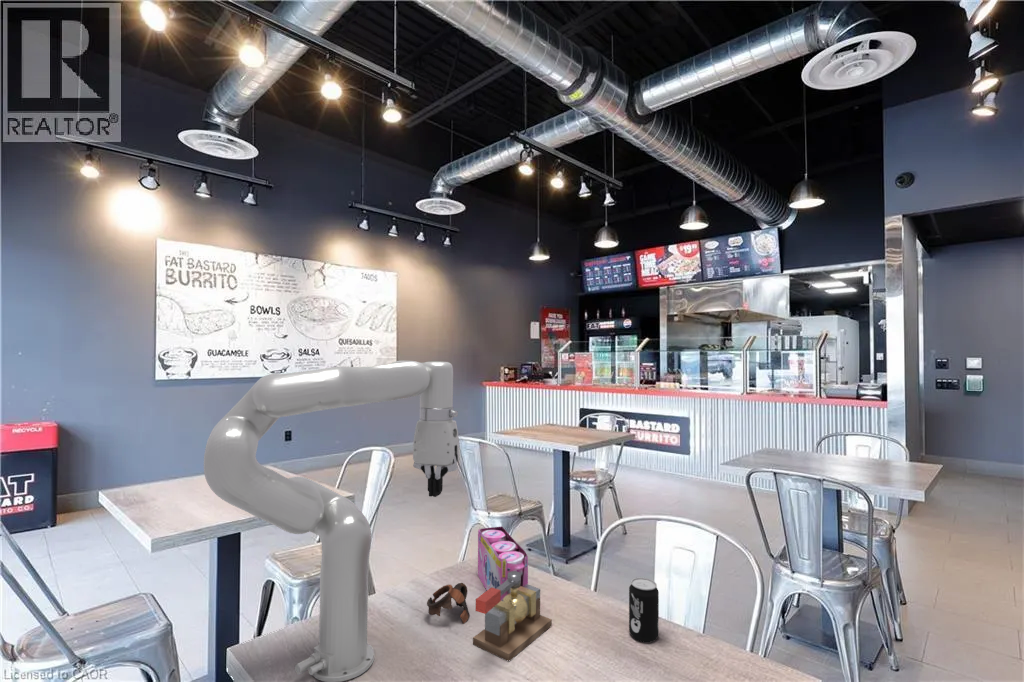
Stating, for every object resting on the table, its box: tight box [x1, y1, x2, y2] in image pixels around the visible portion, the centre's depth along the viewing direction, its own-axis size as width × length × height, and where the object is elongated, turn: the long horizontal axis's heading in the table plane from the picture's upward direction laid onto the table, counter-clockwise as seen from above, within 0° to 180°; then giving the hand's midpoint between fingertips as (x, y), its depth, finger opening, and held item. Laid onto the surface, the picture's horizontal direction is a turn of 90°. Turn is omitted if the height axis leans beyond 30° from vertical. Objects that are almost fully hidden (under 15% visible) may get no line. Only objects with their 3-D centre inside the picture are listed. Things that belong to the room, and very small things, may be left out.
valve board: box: [472, 597, 553, 662], centre depth 112 cm, size 17×10×6 cm, turn 143°
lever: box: [475, 571, 521, 615], centre depth 107 cm, size 16×3×3 cm, turn 150°
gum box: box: [477, 526, 529, 600], centre depth 132 cm, size 24×8×14 cm, turn 18°
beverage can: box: [628, 577, 660, 644], centre depth 112 cm, size 7×7×12 cm
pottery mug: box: [426, 582, 470, 625], centre depth 120 cm, size 12×10×8 cm
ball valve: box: [484, 583, 541, 636], centre depth 112 cm, size 16×6×8 cm, turn 143°
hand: (435, 494), depth 111 cm, fingers closed
